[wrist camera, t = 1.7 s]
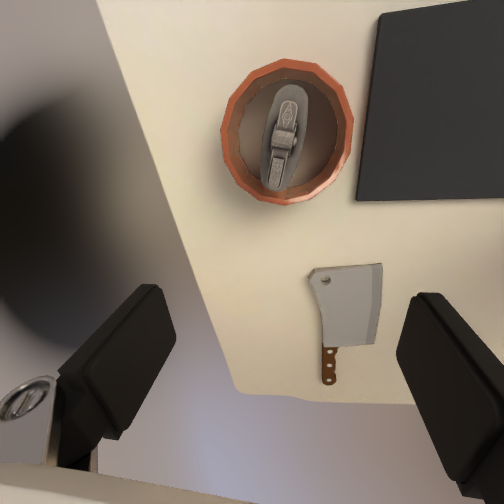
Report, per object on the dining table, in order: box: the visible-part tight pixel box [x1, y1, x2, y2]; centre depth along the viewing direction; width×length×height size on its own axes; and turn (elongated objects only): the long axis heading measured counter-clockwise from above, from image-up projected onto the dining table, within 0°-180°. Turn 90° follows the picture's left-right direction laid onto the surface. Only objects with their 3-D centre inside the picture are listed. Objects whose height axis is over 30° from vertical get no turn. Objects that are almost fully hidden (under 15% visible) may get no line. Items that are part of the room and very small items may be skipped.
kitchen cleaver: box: [308, 263, 383, 385], centre depth 37 cm, size 24×1×10 cm
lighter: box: [261, 84, 308, 191], centre depth 22 cm, size 8×3×10 cm, turn 171°
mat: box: [355, 0, 504, 201], centre depth 22 cm, size 20×16×1 cm
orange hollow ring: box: [220, 59, 354, 205], centre depth 24 cm, size 12×12×5 cm
